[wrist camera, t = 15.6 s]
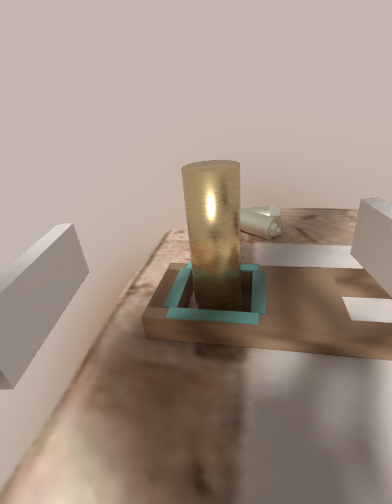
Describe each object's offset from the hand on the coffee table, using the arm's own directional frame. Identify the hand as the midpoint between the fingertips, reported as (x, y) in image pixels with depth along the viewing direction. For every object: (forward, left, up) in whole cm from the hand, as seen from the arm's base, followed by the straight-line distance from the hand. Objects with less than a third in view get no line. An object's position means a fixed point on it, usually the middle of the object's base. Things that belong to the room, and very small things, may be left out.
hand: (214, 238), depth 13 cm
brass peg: (+2, -10, -13) cm, 16 cm away
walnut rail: (-5, -10, -13) cm, 17 cm away
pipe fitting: (-2, -28, -13) cm, 31 cm away
